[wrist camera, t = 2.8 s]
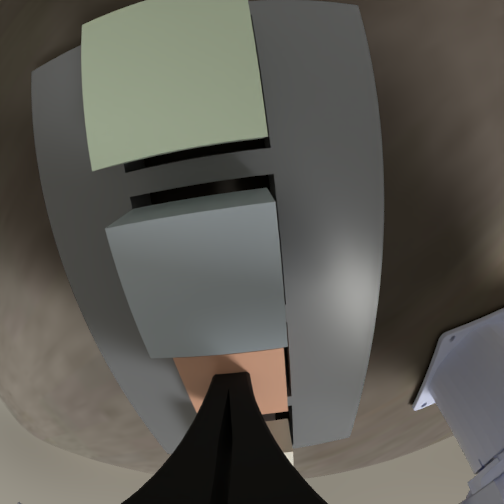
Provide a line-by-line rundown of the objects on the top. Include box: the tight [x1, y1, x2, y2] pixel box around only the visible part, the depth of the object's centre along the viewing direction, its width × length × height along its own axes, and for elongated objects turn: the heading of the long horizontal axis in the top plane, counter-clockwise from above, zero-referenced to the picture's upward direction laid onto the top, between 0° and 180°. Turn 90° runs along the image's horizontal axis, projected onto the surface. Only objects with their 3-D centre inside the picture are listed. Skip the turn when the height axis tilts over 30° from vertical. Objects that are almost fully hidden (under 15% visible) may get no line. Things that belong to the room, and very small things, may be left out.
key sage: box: [81, 0, 268, 171], centre depth 6 cm, size 4×4×3 cm
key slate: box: [105, 188, 288, 358], centre depth 8 cm, size 4×4×3 cm
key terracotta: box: [173, 347, 288, 414], centre depth 11 cm, size 4×4×3 cm
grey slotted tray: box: [31, 0, 384, 454], centre depth 11 cm, size 12×22×2 cm, turn 7°
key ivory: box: [262, 413, 293, 465], centre depth 12 cm, size 4×4×3 cm
